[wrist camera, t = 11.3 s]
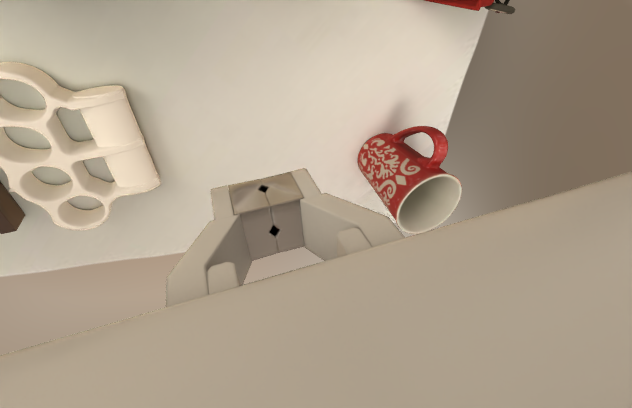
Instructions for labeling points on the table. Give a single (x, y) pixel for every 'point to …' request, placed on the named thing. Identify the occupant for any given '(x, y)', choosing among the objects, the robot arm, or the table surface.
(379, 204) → the table surface
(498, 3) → the robot toy
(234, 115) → the table surface
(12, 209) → the bar
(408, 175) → the mug
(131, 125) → the cream flat holed block
